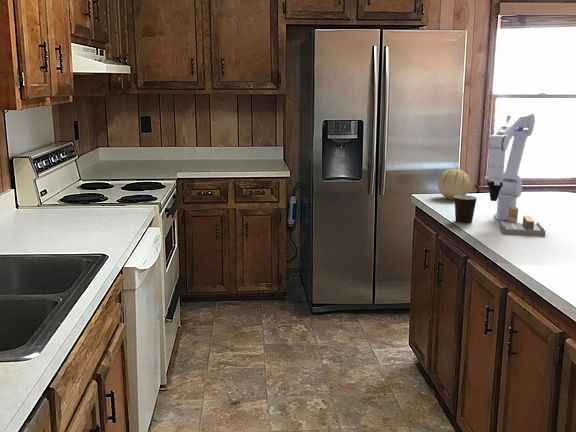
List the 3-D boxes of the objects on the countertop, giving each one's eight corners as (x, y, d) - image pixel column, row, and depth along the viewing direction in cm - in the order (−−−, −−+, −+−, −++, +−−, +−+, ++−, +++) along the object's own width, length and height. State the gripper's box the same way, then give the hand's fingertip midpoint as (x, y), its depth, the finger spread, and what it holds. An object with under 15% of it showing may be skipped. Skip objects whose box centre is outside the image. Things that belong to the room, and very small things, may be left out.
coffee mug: (458, 218, 264) (459, 194, 261) (478, 221, 258) (480, 197, 256) (445, 223, 255) (447, 198, 253) (466, 226, 249) (467, 201, 247)
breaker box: (498, 227, 249) (499, 220, 248) (539, 229, 246) (540, 222, 245) (502, 234, 238) (503, 226, 238) (545, 236, 235) (545, 228, 235)
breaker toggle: (522, 223, 246) (523, 215, 245) (529, 223, 245) (530, 216, 245) (526, 228, 237) (527, 220, 236) (533, 229, 237) (534, 221, 236)
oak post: (507, 224, 254) (509, 206, 252) (515, 224, 253) (517, 207, 252) (508, 225, 251) (510, 208, 249) (516, 226, 250) (518, 208, 249)
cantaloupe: (436, 201, 299) (437, 169, 296) (438, 195, 313) (440, 164, 309) (468, 203, 295) (471, 170, 291) (469, 197, 308) (471, 166, 305)
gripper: (483, 163, 254) (481, 196, 257) (487, 168, 240) (484, 203, 243) (502, 163, 253) (499, 197, 256) (507, 169, 239) (504, 204, 242)
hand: (493, 200), depth 249 cm, fingers closed
